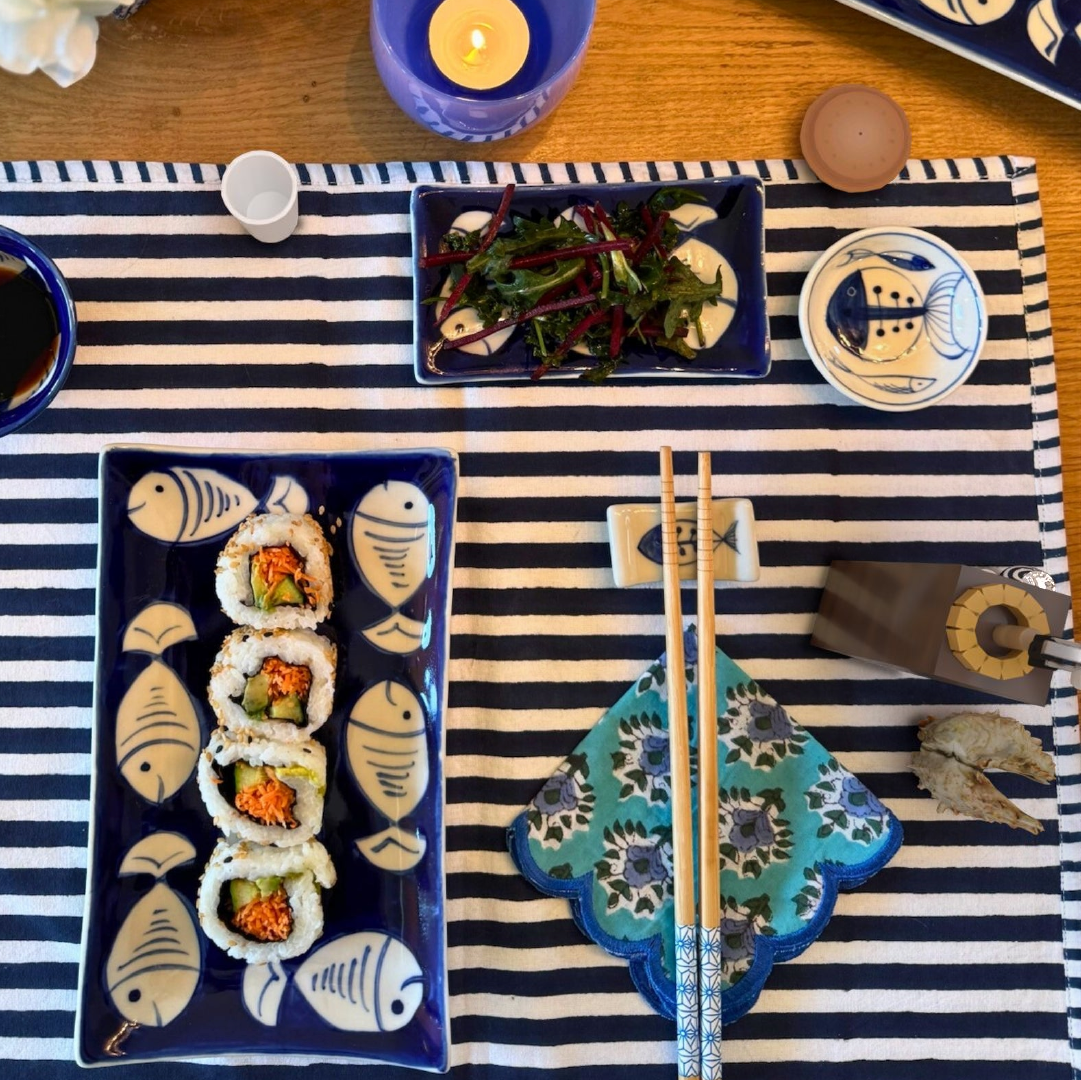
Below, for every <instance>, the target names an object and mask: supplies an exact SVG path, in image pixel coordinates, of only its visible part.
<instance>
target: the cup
mask: <svg viewBox="0 0 1081 1080" xmlns="http://www.w3.org/2000/svg"><path fill="white" fill-rule="evenodd" d="M220 192H221V193H220V195H221V198H222V200H223V201H222V202H223V203H224V205H225V207H226V208H227V210H228V211H229V212H230V214H231V215H232V216H233V217H234V218H235V219H236V220H237V221H238V223H239V224H241V225H242V227H243V228H244V229H245V230H246V231H247V232H248V233H249V234H250V235H251V236H252V237H253V238H254V239H256V240H257V241H260V242H261V243H268V244H269V243H270V244H271V243H272V244H277V243H280V242H282V241H284V240H286V239H287V238H289V237H290V236H291V235H292V234H293V233H294V231H295V230H296V227H297V225H298V221H299V198H298V197H299V196H298V195H299V194H298V178H297V176H296V174H295V171H294V169H293V168H292V166H291V165H290V163H289V162H288V161H287V160H285V159H284V157H282V156H280V155H279V154H276V153H275V152H273V151H271V150H270V151H268V150H263V149H261V150H260V149H259V150H250V151H248V152H245V153H242V154H240V155H238V156H236V157H235V158H234V159H233V160H232V161H231V162H230V164H229V165H227V167H226V169H225V171H224V173H223V175H222V179H221V183H220Z"/></svg>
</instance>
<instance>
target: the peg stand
mask: <svg viewBox="0 0 1081 1080" xmlns="http://www.w3.org/2000/svg"><path fill="white" fill-rule="evenodd" d="M991 583H994V584H1007V585H1010V586H1013V587H1016V588H1018V589H1021V590H1024V591H1026V592H1025V593H1029V594H1030V595H1031V596H1032V597H1033V598H1034V599H1035V600H1036V601H1037V602H1038V604H1039V605H1040V606H1041V607H1042V608H1043V610H1042V611H1041V612H1045V614H1046V618H1047V622H1048V626H1049V630H1050V633H1049V634H1044V635H1048V636H1055V637H1061V638H1063V637H1064V636H1063V635H1064V631H1065V627H1066V623H1067V619H1068V614H1069V611H1070V607H1071V603H1072V599H1073V596H1072V595H1067V594H1064V593H1062V592H1058V591H1056V592H1055V591H1051V590H1048V589H1044V588H1041V587H1038V586H1034V585H1031V584H1027V583H1024V582H1021V581H1017V580H1014V579H1010V578H1007V577H1004V576H1000V575H999V574H998V573H996V574H994V573H990V572H987V571H983V570H981V569H979V568H976V567H973V566H969V565H966V564H961V563H934V562H933V563H932V562H931V563H929V562H903V561H896V562H895V561H867V560H864V561H863V560H839V559H838V560H837V559H836V560H834V559H832V560H831V562H830V565H829V569H828V573H827V577H826V580H825V584H824V588H823V592H822V596H821V599H820V603H819V608H818V610H817V613H816V617H815V622H814V626H813V629H812V633H811V638H810V641H809V645H810V646H812V647H813V646H814V647H817V648H820V649H823V650H827V651H829V652H834V653H837V654H840V655H843V656H847V657H850V658H854V659H857V660H861V661H864V662H867V663H870V664H873V665H877V666H881V667H883V668H887V669H890V670H895V671H898V672H902V673H906V674H910V675H914V676H918V677H922V678H926V679H930V680H934V681H938V682H942V683H946V684H949V685H954V686H958V687H962V688H966V689H970V690H974V691H978V692H982V693H986V694H989V695H994V696H996V697H997V696H998V697H1001V698H1006V699H1009V700H1014V701H1017V702H1021V703H1026V704H1030V705H1033V706H1038V707H1042V708H1046V704H1047V700H1048V696H1049V692H1050V688H1051V684H1052V679H1053V676H1054V672H1055V671H1052V670H1046V669H1041V668H1036V667H1034V668H1033V669H1032V670H1031V671H1030V672H1029V673H1028V674H1024V673H1023V675H1024V676H1021V677H1016V678H1011V679H1006V680H1001V679H999V680H998V679H994V678H989V677H986V676H983V675H980V674H977V673H974V672H972V671H970V669H967V668H965V667H964V665H963V664H962V663H961V662H960V661H959V660H958V659H957V658H956V657H955V655H954V654H953V652H954V651H955V650H951V649H950V645H949V641H948V637H947V632H946V629H948V628H952V627H949V626H946V623H947V619H948V616H949V613H950V609H951V606H956V605H955V603H954V602H955V601H956V600H957V599H958V598H959V597H960V596H962V595H963V594H964V593H965V592H966V591H967V590H968V589H972V587H976V586H981V585H986V584H991ZM975 634H976V639H977V643H978V645H979V646H980V647H981V648H982V650H983V651H984V652H985V653H986V654H987V655H988V656H991V657H994V658H996V657H1001V656H1006V655H1007V654H1008V653H1009V652H1010V651H1011V650H1012V649H1017V650H1023V651H1028V649H1029V645H1030V643H1031V642H1032V641H1033V639H1034V636H1035V635H1036V634H1040V635H1042V634H1041V632H1040V631H1039V630H1037V629H1035V628H1031V627H1023V626H1018V621H1017V618H1016V617H1015V616H1014V615H1013V613H1012V612H1011V611H1010V610H1009V609H1008V608H1007V607H1005V606H1002V605H994V606H989V607H988V608H987V609H986V610H985V611H984V612H982V613H981V614H980V615H979V617H978V621H977V624H976V627H975Z"/></svg>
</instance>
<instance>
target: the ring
mask: <svg viewBox="0 0 1081 1080" xmlns="http://www.w3.org/2000/svg"><path fill="white" fill-rule="evenodd" d="M1025 592H1026V591H1024V590H1021V589H1018V588H1016V587H1013V586H1010V585H1007V584H994V583H991V584H986V585H981V586H976V587H972V589H968V590H967V591H966V592H965V593H964V594H963V595H962V596H960V597H959V598H958V599H957V600H956V601H955V602H954V603H955V605H956V606H951V609H950V613H949V616H948V619H947V623H946V626H949V627H952V628H948V629H946V632H947V637H948V641H949V645H950V649H951V650H955V651H954V652H953V654H954V655H955V657H956V658H957V659H958V660H959V661H960V662H961V663H962V664H963V665H964V667H965V668H967V669H970V671H972V672H974V673H977V674H980V675H983V676H986V677H989V678H994V679H998V680H999V679H1001V680H1006V679H1011V678H1016V677H1021V676H1024V675H1023V673H1024V674H1028V673H1029V672H1030V671H1031V670H1032V669H1033V668H1034V667H1032V666H1029V665H1028V659H1029V655H1028V651H1023V650H1017V649H1012V650H1011V651H1010V652H1009V653H1008V654H1007V655H1006V656H1001V657H996V658H994V657H991V656H988V655H987V654H986V653H985V652H984V651H983V650H982V648H981V647H980V646H979V645H978V643H977V639H976V634H975V627H976V624H977V621H978V617H979V615H980V614H981V613H982V612H984V611H985V610H986V609H987V608H988V607H989V606H994V605H1002V606H1005V607H1007V608H1008V609H1009V610H1010V611H1011V612H1012V613H1013V615H1014V616H1015V617H1016V618H1017V621H1018V626H1023V627H1031V628H1035V629H1037V630H1039V631H1040V632H1041V634H1042V635H1044V634H1049V633H1050V630H1049V626H1048V622H1047V618H1046V614H1045V612H1041V611H1042V610H1043V608H1042V607H1041V606H1040V605H1039V604H1038V602H1037V601H1036V600H1035V599H1034V598H1033V597H1032V596H1031V595H1030V594H1029V593H1025Z"/></svg>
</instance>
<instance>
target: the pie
mask: <svg viewBox="0 0 1081 1080" xmlns="http://www.w3.org/2000/svg"><path fill="white" fill-rule="evenodd" d="M910 125H911V124H910V121H909V119H908V117H907V115H906V113H905V110H904V108H903V107H902V106H901V105H900V104H899V103H898V102H896V101H895V99H893V98H892V97H890V96H889V95H888V94H886V93H885V92H883V91H881V90H880V89H878V88H875V87H872V86H868V85H865V84H860V83H858V84H857V83H842V84H840V85H836V86H833V87H830V88H828V89H827V90H825V91H824V92H823V93H821V94H820V95H818V96H817V97H816V98H815V99H814V101H813V102H811V104H810V105H809V106H808V108H807V109H806V112H805V114H804V117H803V119H802V122H801V127H800V133H799V137H798V139H799V143H800V149H801V154H802V156H803V158H804V159H805V161H806V163H807V165H808V167H809V168H810V169H811V170H812V172H813V173H814V174H815V176H816V177H817V178H818V179H819V180H820V181H822V182H823V183H825V184H826V185H828V186H830V187H832V188H833V189H836V190H840V191H843V192H846V193H849V194H850V193H865V192H871V191H874V190H880V189H882V188H883V187H885V186H886V185H889V183H891V182H892V181H894V180H895V179H896V178H897V176H898V175H899V174H900V173H901V172H902V171H903V169H904V168H905V166H906V164H907V162H908V159H909V157H910V155H911V151H912V141H913V138H912V130H911V126H910Z"/></svg>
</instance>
